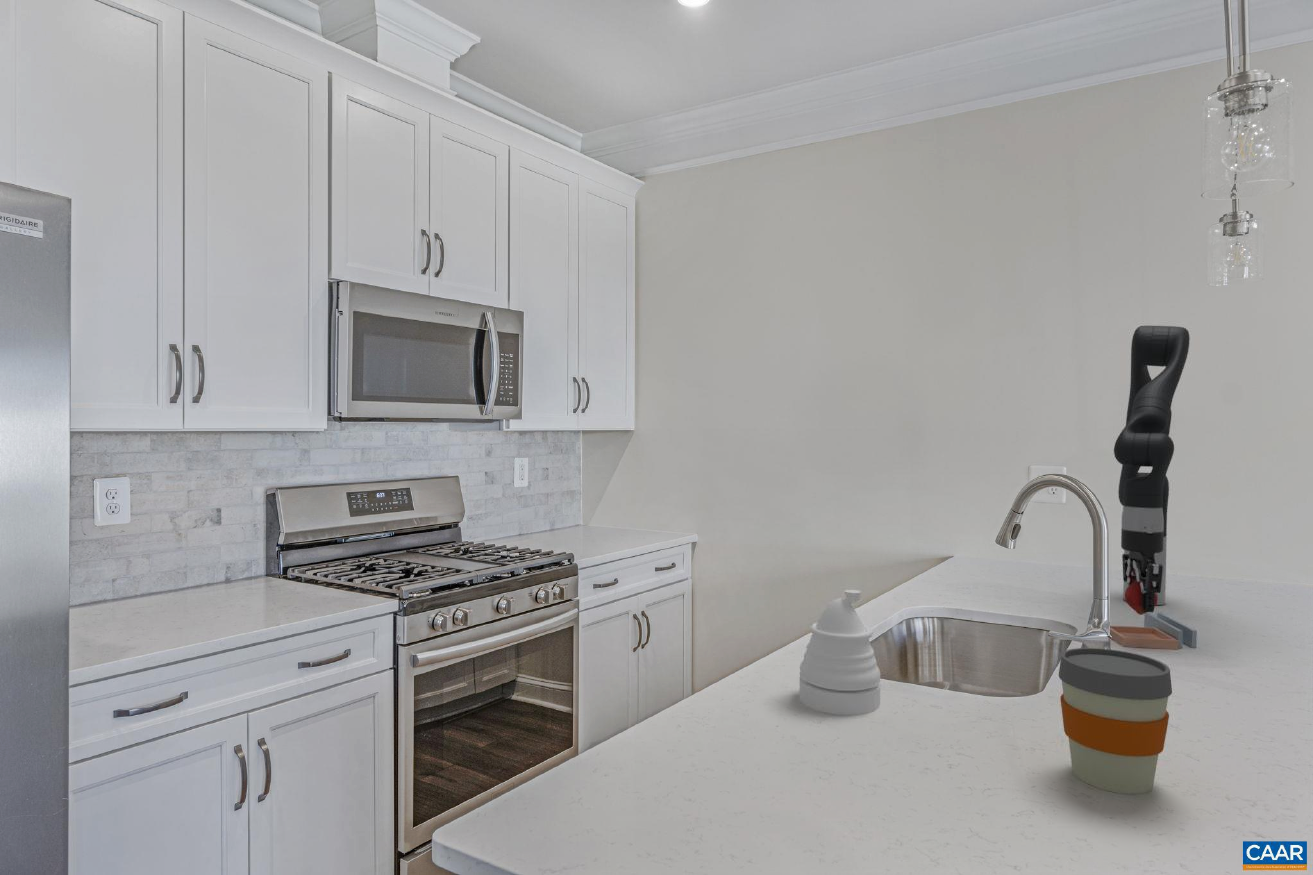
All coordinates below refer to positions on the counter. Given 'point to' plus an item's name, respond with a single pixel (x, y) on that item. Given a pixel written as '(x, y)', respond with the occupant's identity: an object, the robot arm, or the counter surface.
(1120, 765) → the reusable coffee cup
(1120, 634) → the terracotta dish
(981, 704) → the counter surface
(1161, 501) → the robot arm
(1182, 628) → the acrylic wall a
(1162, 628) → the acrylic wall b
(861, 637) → the honey pot
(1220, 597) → the counter surface
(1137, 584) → the pomegranate
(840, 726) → the counter surface
